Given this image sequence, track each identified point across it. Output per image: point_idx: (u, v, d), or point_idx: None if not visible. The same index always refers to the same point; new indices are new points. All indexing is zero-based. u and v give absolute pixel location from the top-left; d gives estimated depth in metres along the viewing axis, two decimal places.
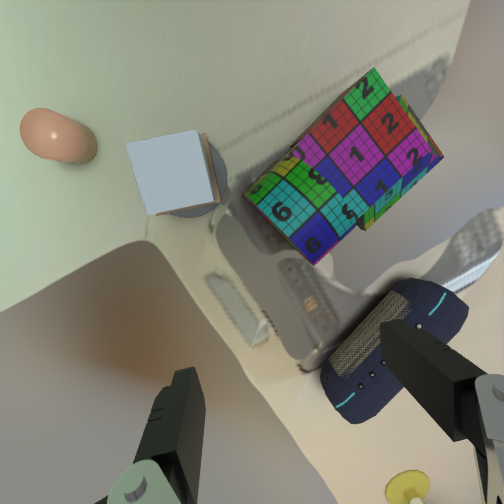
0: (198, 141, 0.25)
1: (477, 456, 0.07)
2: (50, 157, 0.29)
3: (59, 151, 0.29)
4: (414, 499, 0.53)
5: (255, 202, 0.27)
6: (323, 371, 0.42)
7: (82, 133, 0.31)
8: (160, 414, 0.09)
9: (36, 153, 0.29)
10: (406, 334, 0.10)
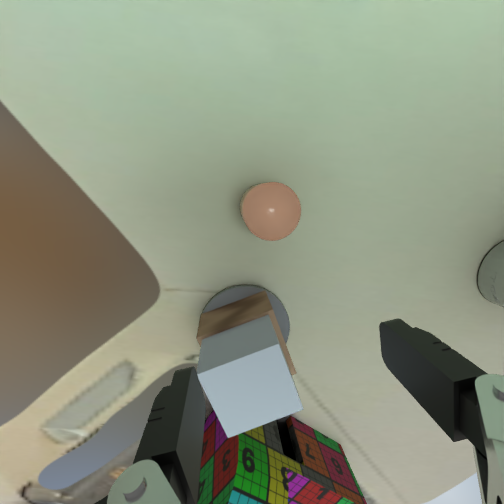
0: (291, 412, 0.23)
1: (477, 456, 0.07)
2: (246, 216, 0.23)
3: (254, 227, 0.23)
4: None
5: (235, 481, 0.24)
6: None
7: None
8: (160, 414, 0.09)
9: (248, 200, 0.23)
10: (406, 334, 0.10)
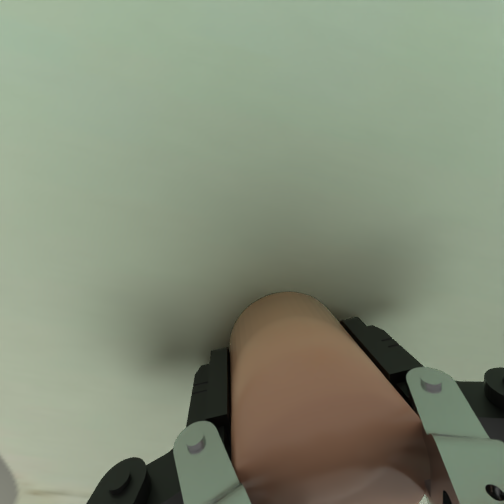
0: None
1: None
2: None
3: None
4: None
5: None
6: None
7: None
8: (203, 387, 0.10)
9: (256, 445, 0.06)
10: (359, 331, 0.10)
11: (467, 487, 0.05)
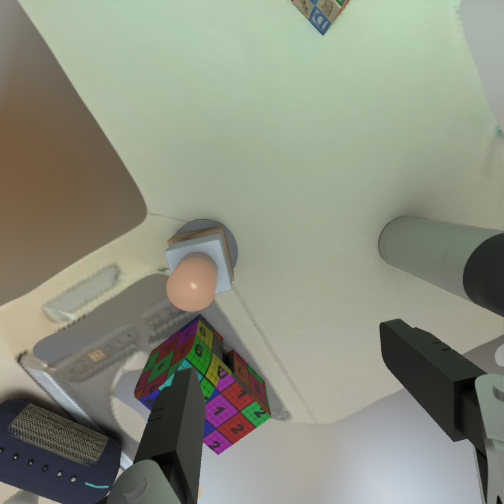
0: (223, 290, 0.34)
1: (477, 456, 0.07)
2: (168, 290, 0.27)
3: (175, 299, 0.28)
4: None
5: (188, 356, 0.36)
6: (11, 405, 0.43)
7: None
8: (160, 414, 0.09)
9: (171, 277, 0.27)
10: (406, 334, 0.10)
11: None
